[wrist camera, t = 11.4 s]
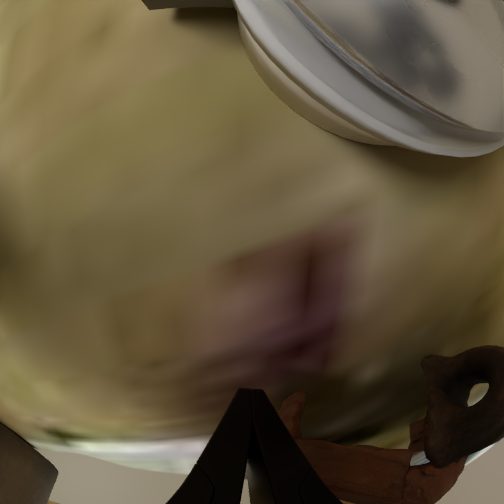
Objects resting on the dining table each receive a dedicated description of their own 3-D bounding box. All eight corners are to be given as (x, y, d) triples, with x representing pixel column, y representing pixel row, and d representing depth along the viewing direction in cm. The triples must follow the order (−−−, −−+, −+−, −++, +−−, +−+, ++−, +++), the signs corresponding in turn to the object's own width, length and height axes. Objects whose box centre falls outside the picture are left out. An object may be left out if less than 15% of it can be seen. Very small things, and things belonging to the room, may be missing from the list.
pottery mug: (393, 445, 14) (353, 549, 8) (284, 380, 17) (208, 481, 10) (537, 335, 8) (568, 481, 1) (406, 223, 10) (385, 374, 4)
